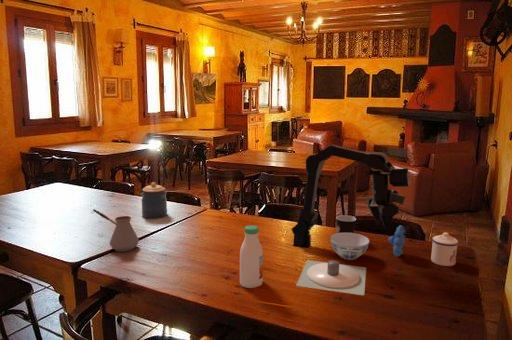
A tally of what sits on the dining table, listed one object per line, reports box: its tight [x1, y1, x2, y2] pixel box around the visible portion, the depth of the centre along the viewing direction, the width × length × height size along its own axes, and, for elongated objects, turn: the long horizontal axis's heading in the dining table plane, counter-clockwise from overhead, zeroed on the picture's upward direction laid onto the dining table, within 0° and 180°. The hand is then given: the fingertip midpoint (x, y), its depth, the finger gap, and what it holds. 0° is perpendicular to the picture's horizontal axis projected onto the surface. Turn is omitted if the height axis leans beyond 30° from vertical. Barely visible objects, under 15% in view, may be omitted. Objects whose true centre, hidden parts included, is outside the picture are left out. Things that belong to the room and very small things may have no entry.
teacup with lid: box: [430, 232, 459, 267], centre depth 158 cm, size 12×9×12 cm
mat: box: [295, 259, 367, 296], centre depth 143 cm, size 22×22×1 cm
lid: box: [307, 260, 359, 288], centre depth 143 cm, size 18×18×5 cm
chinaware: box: [329, 232, 370, 261], centre depth 160 cm, size 15×15×8 cm
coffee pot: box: [90, 208, 140, 253], centre depth 169 cm, size 21×12×15 cm, turn 69°
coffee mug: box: [335, 214, 357, 233], centre depth 181 cm, size 12×9×10 cm
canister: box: [140, 181, 168, 219], centre depth 212 cm, size 13×13×18 cm
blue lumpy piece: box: [387, 225, 407, 258], centre depth 163 cm, size 12×7×12 cm, turn 152°
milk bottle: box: [239, 225, 264, 289], centre depth 136 cm, size 8×8×20 cm
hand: (382, 227), depth 155 cm, fingers open, 9 cm apart
